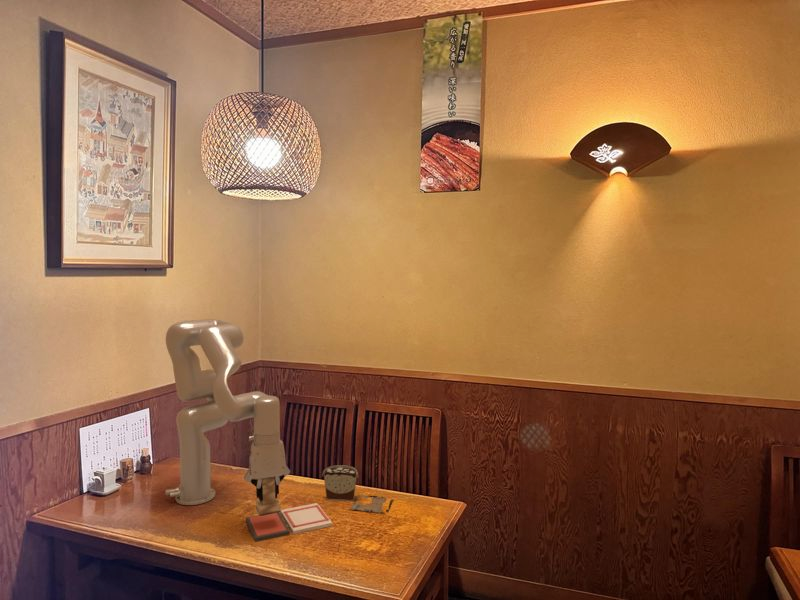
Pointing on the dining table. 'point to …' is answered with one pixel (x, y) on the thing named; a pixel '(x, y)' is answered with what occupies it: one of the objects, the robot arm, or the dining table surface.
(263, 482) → the stamp
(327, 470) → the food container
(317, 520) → the marked board
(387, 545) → the dining table surface
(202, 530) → the dining table surface
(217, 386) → the robot arm
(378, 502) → the parchment
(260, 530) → the ink pad
